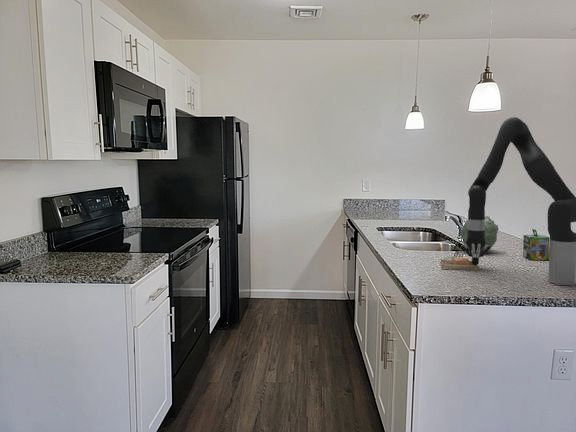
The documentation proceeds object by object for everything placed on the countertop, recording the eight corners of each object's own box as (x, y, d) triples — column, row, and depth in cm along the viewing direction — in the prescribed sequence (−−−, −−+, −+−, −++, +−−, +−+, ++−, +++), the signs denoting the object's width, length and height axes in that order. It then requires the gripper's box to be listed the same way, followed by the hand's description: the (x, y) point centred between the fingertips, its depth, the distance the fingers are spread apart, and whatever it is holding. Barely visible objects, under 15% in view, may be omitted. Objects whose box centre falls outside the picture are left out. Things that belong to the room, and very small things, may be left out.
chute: (478, 270, 187) (479, 266, 187) (441, 269, 192) (441, 264, 192) (476, 264, 198) (476, 260, 198) (440, 263, 204) (440, 259, 204)
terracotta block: (469, 269, 192) (469, 260, 191) (455, 268, 193) (455, 260, 193) (466, 266, 197) (467, 257, 197) (453, 265, 199) (453, 257, 198)
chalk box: (549, 260, 201) (550, 230, 200) (528, 260, 203) (529, 230, 202) (542, 256, 210) (543, 228, 209) (522, 256, 212) (523, 228, 211)
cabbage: (463, 248, 237) (463, 213, 235) (499, 251, 227) (500, 214, 224) (457, 253, 224) (457, 217, 222) (495, 256, 214) (496, 218, 211)
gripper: (461, 229, 190) (460, 266, 192) (493, 230, 185) (492, 267, 188) (460, 227, 197) (459, 262, 199) (490, 227, 192) (489, 264, 195)
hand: (475, 265), depth 193 cm, fingers closed
